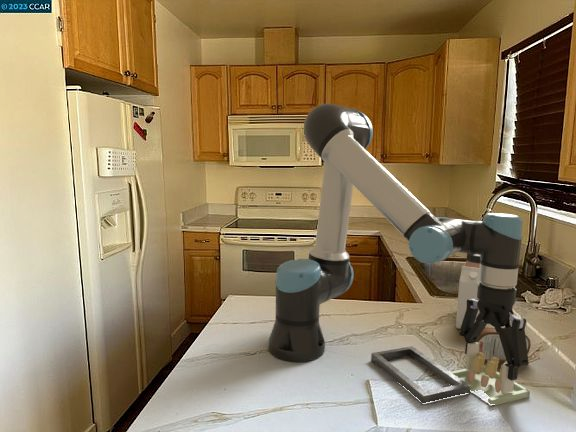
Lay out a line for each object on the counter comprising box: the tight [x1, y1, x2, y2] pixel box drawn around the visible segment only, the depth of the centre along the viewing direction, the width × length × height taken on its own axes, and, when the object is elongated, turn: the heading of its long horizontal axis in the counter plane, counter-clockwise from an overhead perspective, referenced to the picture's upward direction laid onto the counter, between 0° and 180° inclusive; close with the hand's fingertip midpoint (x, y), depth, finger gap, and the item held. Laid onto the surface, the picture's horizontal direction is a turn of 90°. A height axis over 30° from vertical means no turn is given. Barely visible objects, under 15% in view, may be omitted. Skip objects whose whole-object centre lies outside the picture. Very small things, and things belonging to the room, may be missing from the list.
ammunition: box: [468, 353, 507, 393], centre depth 90 cm, size 5×7×8 cm
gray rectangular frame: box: [370, 345, 471, 403], centre depth 95 cm, size 12×20×2 cm, turn 20°
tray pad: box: [450, 364, 531, 406], centre depth 91 cm, size 11×12×1 cm
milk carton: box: [455, 265, 480, 329], centre depth 123 cm, size 7×7×19 cm
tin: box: [475, 326, 532, 362], centre depth 103 cm, size 15×3×8 cm, turn 92°
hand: (488, 379), depth 90 cm, fingers closed on ammunition, 9 cm apart
